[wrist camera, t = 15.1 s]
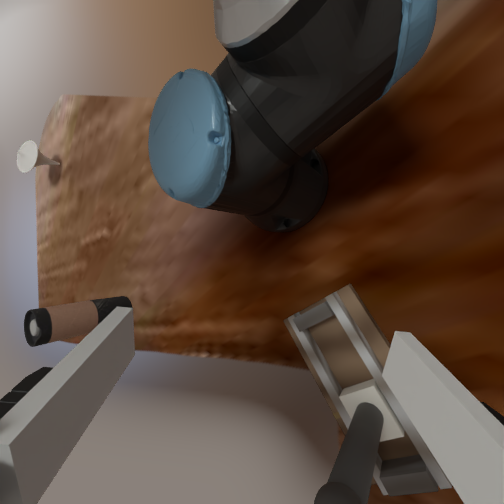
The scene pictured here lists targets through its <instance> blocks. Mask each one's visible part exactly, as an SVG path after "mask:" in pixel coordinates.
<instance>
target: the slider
mask: <svg viewBox="0 0 504 504" xmlns="http://www.w3.org/2000/svg"><path fill="white" fill-rule="evenodd" d="M339 398H340V400H341V402H342V403H343V405H344V407H345V409H346V411H347V413H348V414H349V416H350V418H351V420H352V421H351V423H350V426H349V428H348V431H347V433H346V436H345V439H344V441H343V444H342V446H341V449H340V451H339V454H338V456H337V459H336V462H335V465H334V467H333V470H332V472H331V474H330V477H329V479H328V482H327V483H326V484H325V485H323V486H322V487H321V488H320V490H319V491H318V493H317V495H316V498H315V501H314V504H367V503H368V498H369V493H370V488H371V483H372V478H373V473H374V468H375V463H376V458H377V453H378V448H379V443H380V442H381V441H386V440H391V439H396V438H400V437H404V431H405V429H404V428H403V426H402V424H401V423H400V421H399V419H398V418H397V416H396V414H395V413H394V411H393V409H392V408H391V406H390V404H389V403H388V401H387V399H386V398H385V396H384V395H383V393H382V391H381V390H380V388H379V386H378V385H377V383H376V381H375V380H374V379H371V380H368V381H365V382H362V383H359V384H356V385H353V386H350V387H347V388H344V389H343V391H342V392H341V394H340V396H339Z"/></svg>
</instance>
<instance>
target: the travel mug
mask: <svg viewBox="0 0 504 504" xmlns="http://www.w3.org/2000/svg"><path fill="white" fill-rule="evenodd" d="M116 307H128V308H132V305H131V302H130V300H129V299H128V298H127V297H125V296H121V297H113V298H105V299H96V300H89V301H82V302H76V303H70V304H64V305H58V306H51V307H45V308H39V309H33V310H29V311H28V312H27V313H26V315H25V320H24V332H25V337H26V340H27V343H28V344H29V345H30V346H32V347H33V346H38V345H42V344H46V343H51V342H54V341H59V340H63V339H67V338H71V337H75V336H79V335H84V334H88V333H90V332H91V331H92V330H93V329H94V328H95V327H96V326H98V325H99V324H100V323H101V322H102V321H103V320H104V319H105V318H106V317H107V316H108V315H109V314H110V313H111V312H112V311H113V310H114V309H115V308H116Z"/></svg>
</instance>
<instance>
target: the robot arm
mask: <svg viewBox="0 0 504 504" xmlns="http://www.w3.org/2000/svg"><path fill="white" fill-rule="evenodd" d="M213 1H214V18H215V33H216V37H217V39H218V40H219V42H220V43H221V44H222V45H223V46H224V48H225V49H226V50H227V51H228V52H229V53H228V55H227V56H226V57H225V59H224V60H223V61H222V62H221V64H220V65H219V66H218V67H217V68H216V69H215V71H214V72H213V73H212V74H211V76H210V75H209V74H208V73H207V72H204V71H200V70H196V69H187V70H185V71H184V72H178V73H177V74H175V75H174V76H173V77H172V78H171V79H170V80H169V81H168V82H167V83H166V84H165V86H164V87H163V89H162V91H161V92H160V94H159V96H158V99H157V101H156V103H155V106H154V109H153V113H152V117H151V121H150V127H149V142H148V145H149V157H150V163H151V167H152V170H153V173H154V176H155V178H156V180H157V182H158V184H159V185H160V187H161V188H162V189H163V190H164V191H165V192H166V193H167V194H168V195H169V196H171V197H172V198H174V199H176V200H179V201H182V202H186V203H189V204H191V205H193V206H196V207H198V208H207V209H213V210H218V211H224V212H230V213H236V214H241V215H244V216H246V217H247V218H248V219H249V220H250V221H251V222H252V223H253V224H255V225H256V226H258V227H259V228H262V229H264V230H267V231H272V232H289V231H293V230H296V229H298V228H300V227H302V226H304V225H305V224H307V223H308V222H309V221H310V220H311V219H312V218H313V217H314V216H315V215H316V214H317V212H318V211H319V209H320V208H321V206H322V204H323V202H324V199H325V197H326V193H327V188H328V173H327V168H326V165H325V162H324V160H323V158H322V157H321V155H320V154H319V153H318V151H317V150H316V149H315V147H317V146H318V145H319V144H320V143H322V142H323V141H324V140H326V139H327V138H328V137H329V136H331V135H332V134H333V133H335V132H336V131H337V130H338V129H340V128H341V127H342V126H344V125H345V124H346V123H347V122H349V121H350V120H351V119H353V118H354V117H355V116H356V115H358V114H359V113H360V112H362V111H363V110H364V109H365V108H367V107H368V106H369V105H371V104H372V103H373V102H374V101H376V100H379V99H380V98H382V96H383V95H385V94H386V93H387V92H388V91H389V89H390V88H391V86H392V85H394V84H395V83H396V82H397V81H398V80H399V79H400V78H402V77H403V76H404V75H405V74H406V73H407V72H408V71H410V70H411V69H412V68H413V67H414V66H415V65H416V64H417V62H418V61H419V60H420V59H421V57H422V56H423V54H424V52H425V51H426V49H427V47H428V45H429V42H430V39H431V37H432V33H433V30H434V25H435V20H436V12H437V0H213ZM134 355H135V349H134V324H133V308H128V307H116V308H115V309H114V310H113V311H112V312H111V313H110V314H109V315H108V316H107V317H106V318H105V319H104V320H103V321H102V322H101V323H100V324H99V325H98V326H96V327H95V328H94V329H93V330H92V331H91V332H90V333H89V334H88V335H87V336H86V337H85V338H84V339H83V340H82V341H81V342H80V343H79V344H78V345H77V346H76V347H75V348H74V349H73V350H72V351H71V352H70V353H69V354H67V355H66V356H65V357H64V358H63V359H62V360H61V361H60V363H58V364H57V365H56V366H55V367H54V368H50V367H43V368H41V369H39V370H37V371H36V372H34V373H32V374H30V375H29V376H27V377H25V378H24V379H23V380H22V381H21V382H20V383H19V384H18V385H16V386H15V387H14V388H13V389H12V391H11V392H9V393H8V394H6V395H5V396H4V397H3V398H2V399H1V400H0V504H37V503H38V501H39V500H40V498H41V497H42V495H43V494H44V492H45V491H46V489H47V488H48V486H49V484H50V483H51V482H52V480H53V478H54V477H55V476H56V474H57V472H58V471H59V469H60V468H61V466H62V465H63V463H64V462H65V460H66V459H67V457H68V456H69V454H70V453H71V451H72V450H73V448H74V447H75V445H76V444H77V442H78V441H79V439H80V437H81V436H82V434H83V433H84V431H85V430H86V428H87V427H88V425H89V424H90V422H91V421H92V419H93V418H94V416H95V414H96V413H97V411H98V410H99V409H100V407H101V405H102V404H103V403H104V401H105V399H106V398H107V396H108V395H109V393H110V392H111V390H112V389H113V387H114V386H115V384H116V383H117V381H118V380H119V378H120V377H121V375H122V373H123V372H124V371H125V369H126V367H127V366H128V364H129V363H130V361H131V360H132V358H133V357H134ZM382 377H383V378H384V380H385V381H386V383H387V385H388V386H389V388H390V389H391V391H392V392H393V394H394V395H395V397H396V399H397V400H398V402H399V403H400V405H401V406H402V408H403V409H404V411H405V412H406V414H407V416H408V417H409V419H410V420H411V422H412V423H413V425H414V426H415V428H416V430H417V431H418V433H419V434H420V436H421V437H422V439H423V440H424V442H425V443H426V445H427V447H428V448H429V450H430V451H431V453H432V454H433V456H434V457H435V459H436V461H437V462H438V464H439V465H440V467H441V468H442V470H443V471H444V473H445V474H446V476H447V478H448V479H449V481H450V482H451V484H452V485H453V487H454V488H455V490H456V492H457V493H458V495H459V496H460V498H461V499H462V501H463V502H464V504H504V417H503V416H502V415H501V414H500V413H498V412H497V411H495V410H494V409H492V408H491V407H490V406H488V405H487V404H485V403H484V402H479V401H478V400H477V399H476V398H475V397H474V396H473V395H472V394H471V393H470V392H469V391H468V390H467V389H466V388H465V387H464V386H463V385H462V384H461V383H460V382H459V381H458V380H457V379H456V378H455V377H454V376H453V375H452V374H451V373H450V372H449V371H448V370H447V369H446V368H445V367H444V366H443V365H442V364H441V363H440V362H439V361H438V360H437V359H436V358H435V357H434V356H433V355H432V354H431V353H430V352H429V351H428V350H427V349H426V348H425V347H424V346H423V345H422V344H421V343H420V342H419V341H418V340H417V339H416V338H415V337H414V336H413V335H412V334H411V333H410V332H399V331H395V333H394V337H393V340H392V343H391V347H390V350H389V353H388V357H387V360H386V363H385V367H384V370H383V373H382Z"/></svg>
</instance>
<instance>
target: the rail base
mask: <svg viewBox="0 0 504 504" xmlns="http://www.w3.org/2000/svg"><path fill="white" fill-rule="evenodd" d="M283 321H284V323H285V325H286V327H287V328H288V330H289V332H290V334H291V336H292V338H293V340H294V342H295V343H296V345H297V347H298V349H299V351H300V353H301V355H302V357H303V358H304V360H305V362H306V364H307V366H308V368H309V370H310V371H311V373H312V375H313V377H314V379H315V381H316V383H317V385H318V386H319V388H320V390H321V392H322V394H323V396H324V398H325V399H326V401H327V403H328V405H329V407H330V409H331V411H332V412H333V415H334V417H335V419H336V420H337V422H338V424H339V426H340V428H341V429H342V431H343V433H344V435H345V436H346V433H347V431H348V428H349V426H350V423H351V421H352V420H351V418H350V416H349V414H348V413H347V411H346V409H345V407H344V405H343V403H342V402H341V400H340V398H339V396H340V394H341V392H342V391H343V389H344V388H347V387H350V386H353V385H356V384H359V383H362V382H365V381H368V380H371V379H374V380H375V381H376V383H377V385H378V386H379V388H380V390H381V391H382V393H383V395H384V396H385V398H386V399H387V401H388V403H389V404H390V406H391V408H392V409H393V411H394V413H395V414H396V416H397V418H398V419H399V421H400V423H401V424H402V426H403V428H404V429H405V431H404V437H400V438H396V439H391V440H386V441H381V442H380V443H379V448H378V453H377V458H376V463H375V468H374V473H373V478H372V483H371V485H373V484H378V486H379V488H380V490H381V492H382V493H383V495H389V496H398V495H407V494H417V493H426V492H436V491H438V486H439V487H440V489H447V488H452V484H451V482H450V481H449V479H448V478H447V476H446V474H445V473H444V471H443V470H442V468H441V467H440V465H439V464H438V462H437V461H436V459H435V457H434V456H433V454H432V453H431V451H430V450H429V448H428V447H427V445H426V443H425V442H424V440H423V439H422V437H421V436H420V434H419V433H418V431H417V430H416V428H415V426H414V425H413V423H412V422H411V420H410V419H409V417H408V416H407V414H406V412H405V411H404V409H403V408H402V406H401V405H400V403H399V402H398V400H397V399H396V397H395V395H394V394H393V392H392V391H391V389H390V388H389V386H388V385H387V383H386V381H385V380H384V378H383V377H382V373H383V370H384V367H385V363H386V360H387V357H388V353H389V350H390V347H391V345H390V343H389V342H388V340H387V339H386V337H385V336H384V334H383V333H382V331H381V330H380V328H379V326H378V325H377V323H376V322H375V320H374V319H373V317H372V316H371V314H370V313H369V311H368V310H367V308H366V306H365V305H364V303H363V302H362V300H361V299H360V297H359V296H358V294H357V293H356V291H355V290H354V288H353V286H352V285H351V284H349V285H347V286H345V287H343V288H342V289H340V290H338V291H336V292H334V293H332V294H330V295H329V296H327V297H325V298H323V299H322V300H320V301H318V302H316V303H314V304H313V305H311V306H309V307H307V308H305V309H303V310H302V311H300V312H298V313H296V314H294V315H292V316H290V317H289V318H287V319H285V320H283Z"/></svg>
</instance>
